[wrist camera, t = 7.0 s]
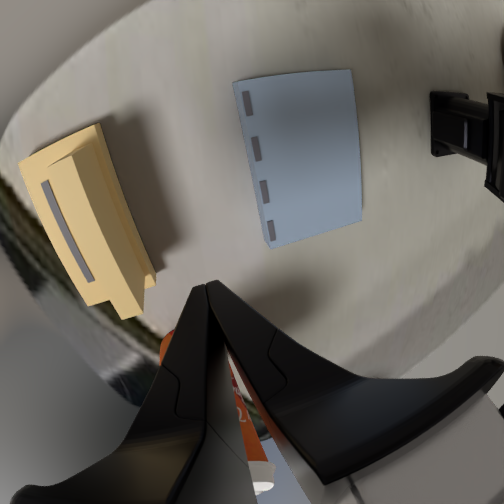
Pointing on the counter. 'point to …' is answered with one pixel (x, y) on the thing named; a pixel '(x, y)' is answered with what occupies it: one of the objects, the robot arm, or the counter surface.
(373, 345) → the counter surface
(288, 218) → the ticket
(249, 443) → the coffee cup
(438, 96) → the robot arm
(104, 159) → the stub
